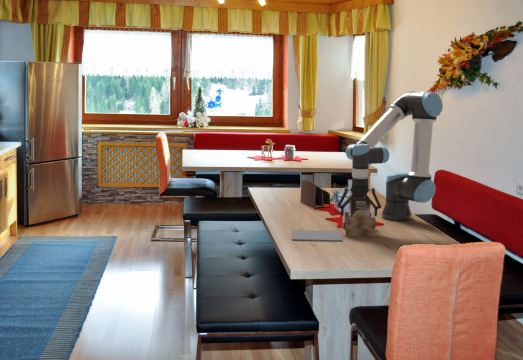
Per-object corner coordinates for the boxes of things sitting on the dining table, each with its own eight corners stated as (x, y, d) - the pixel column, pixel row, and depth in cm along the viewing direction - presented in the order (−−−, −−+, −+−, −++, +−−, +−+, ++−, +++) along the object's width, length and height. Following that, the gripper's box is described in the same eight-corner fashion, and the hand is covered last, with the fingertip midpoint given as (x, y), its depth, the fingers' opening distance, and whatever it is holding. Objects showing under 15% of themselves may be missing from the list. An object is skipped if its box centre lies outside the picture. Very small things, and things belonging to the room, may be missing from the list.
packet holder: (369, 227, 321) (370, 211, 320) (375, 236, 301) (375, 219, 300) (342, 226, 322) (343, 210, 320) (346, 236, 302) (346, 218, 301)
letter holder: (314, 208, 368) (314, 183, 366) (300, 202, 387) (300, 178, 385) (330, 207, 372) (331, 182, 370) (315, 201, 390) (316, 177, 388)
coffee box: (349, 233, 308) (350, 199, 306) (347, 230, 314) (348, 196, 312) (369, 233, 308) (370, 199, 306) (366, 230, 315) (368, 196, 312)
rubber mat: (339, 232, 310) (339, 231, 310) (342, 241, 292) (342, 240, 292) (291, 231, 311) (291, 230, 311) (292, 240, 293) (292, 239, 293)
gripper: (386, 176, 311) (384, 221, 314) (332, 175, 312) (331, 220, 315) (388, 179, 303) (386, 225, 306) (333, 178, 304) (332, 223, 307)
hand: (358, 222), depth 311 cm, fingers open, 13 cm apart
